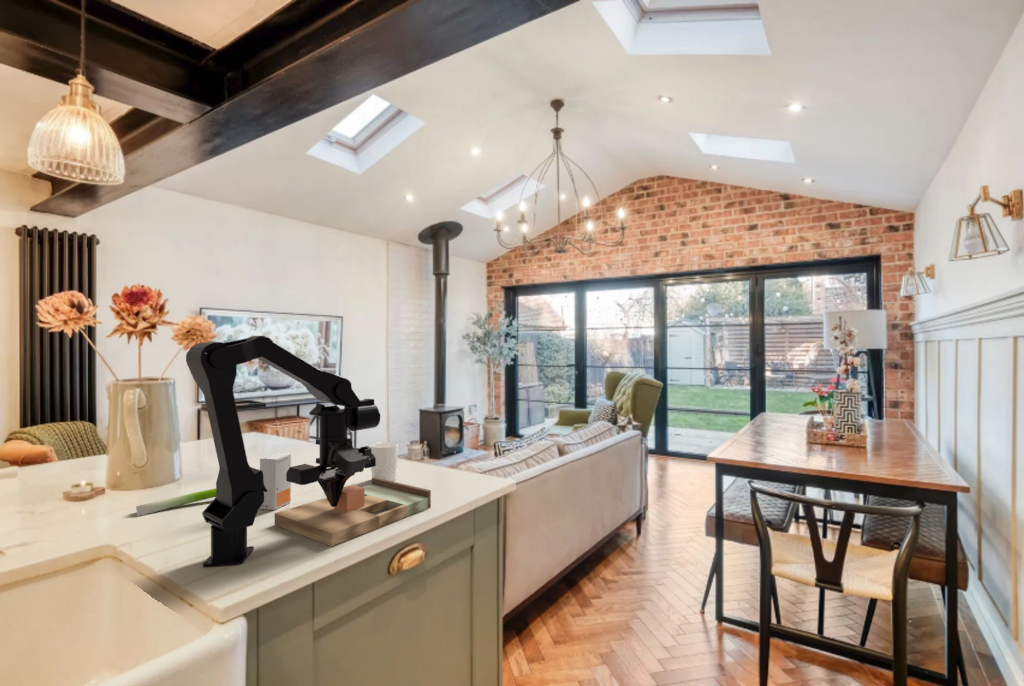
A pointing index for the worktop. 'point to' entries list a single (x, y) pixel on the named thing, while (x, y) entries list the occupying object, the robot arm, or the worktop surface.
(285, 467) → the skincare box
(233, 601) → the worktop surface
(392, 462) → the white cup
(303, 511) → the board
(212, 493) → the leek
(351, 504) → the block
